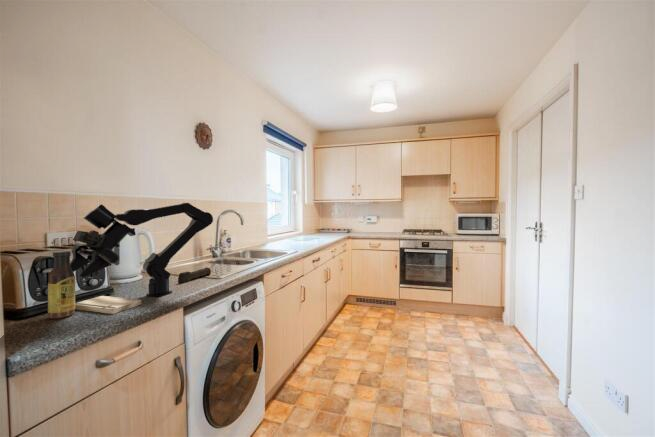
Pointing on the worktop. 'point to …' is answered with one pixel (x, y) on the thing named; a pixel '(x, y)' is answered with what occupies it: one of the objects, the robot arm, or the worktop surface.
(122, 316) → the worktop surface
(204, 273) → the hand tool
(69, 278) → the sauce bottle
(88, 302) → the birch board
